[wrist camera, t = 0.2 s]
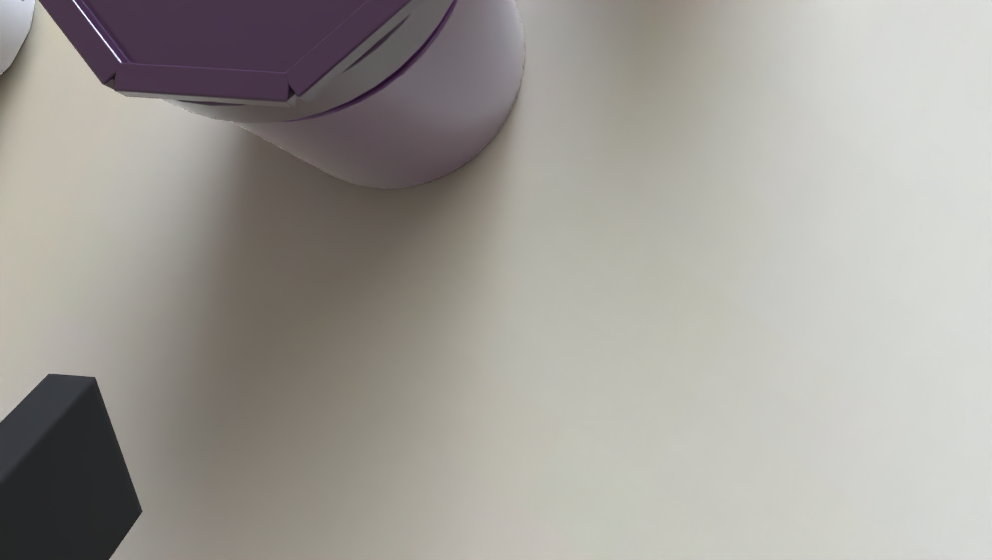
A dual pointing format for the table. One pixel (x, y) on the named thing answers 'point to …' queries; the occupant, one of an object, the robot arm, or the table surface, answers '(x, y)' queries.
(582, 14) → the table surface
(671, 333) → the table surface
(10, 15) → the supplement can
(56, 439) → the robot arm
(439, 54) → the jar
